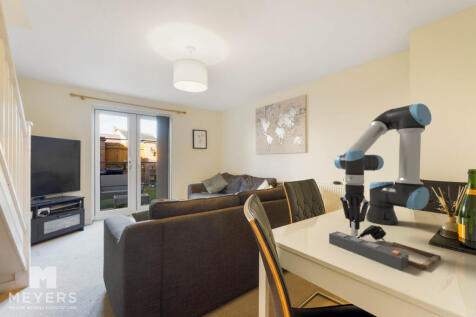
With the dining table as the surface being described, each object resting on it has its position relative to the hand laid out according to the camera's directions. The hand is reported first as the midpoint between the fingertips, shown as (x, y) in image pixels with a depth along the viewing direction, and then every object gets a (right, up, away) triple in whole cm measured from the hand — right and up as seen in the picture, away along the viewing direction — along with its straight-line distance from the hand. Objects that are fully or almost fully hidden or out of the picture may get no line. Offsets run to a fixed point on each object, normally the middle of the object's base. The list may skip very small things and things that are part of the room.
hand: (354, 235), depth 94 cm
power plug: (+1, -4, -2) cm, 4 cm away
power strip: (-4, -1, -14) cm, 15 cm away
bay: (+10, -1, -17) cm, 20 cm away
